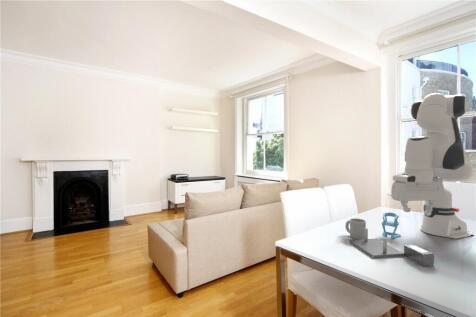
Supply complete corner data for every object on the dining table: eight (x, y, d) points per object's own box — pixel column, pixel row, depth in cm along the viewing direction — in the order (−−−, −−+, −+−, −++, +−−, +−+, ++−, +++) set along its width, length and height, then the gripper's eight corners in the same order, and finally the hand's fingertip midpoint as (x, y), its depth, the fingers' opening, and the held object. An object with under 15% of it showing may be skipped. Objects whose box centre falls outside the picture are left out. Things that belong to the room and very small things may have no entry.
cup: (361, 241, 114) (361, 223, 114) (342, 235, 122) (342, 218, 122) (368, 238, 119) (368, 220, 118) (349, 232, 127) (349, 216, 126)
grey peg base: (376, 240, 115) (376, 226, 115) (404, 256, 98) (404, 239, 98) (349, 242, 113) (349, 227, 113) (373, 258, 96) (373, 241, 96)
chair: (379, 237, 120) (379, 214, 120) (383, 232, 126) (383, 210, 126) (397, 240, 115) (397, 216, 114) (400, 236, 121) (400, 213, 120)
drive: (413, 256, 98) (413, 244, 98) (433, 266, 89) (433, 253, 89) (403, 256, 98) (404, 244, 98) (423, 267, 89) (423, 254, 89)
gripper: (434, 175, 97) (434, 208, 97) (388, 176, 95) (388, 210, 95) (450, 177, 91) (449, 212, 91) (401, 178, 89) (400, 214, 89)
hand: (417, 211), depth 93 cm, fingers open, 8 cm apart
